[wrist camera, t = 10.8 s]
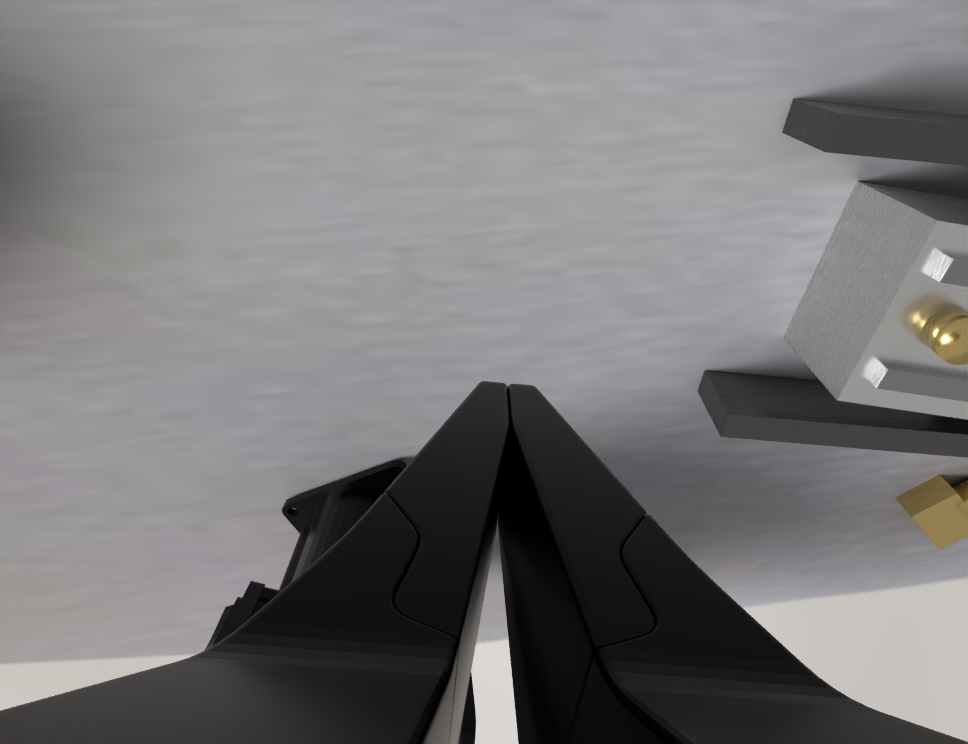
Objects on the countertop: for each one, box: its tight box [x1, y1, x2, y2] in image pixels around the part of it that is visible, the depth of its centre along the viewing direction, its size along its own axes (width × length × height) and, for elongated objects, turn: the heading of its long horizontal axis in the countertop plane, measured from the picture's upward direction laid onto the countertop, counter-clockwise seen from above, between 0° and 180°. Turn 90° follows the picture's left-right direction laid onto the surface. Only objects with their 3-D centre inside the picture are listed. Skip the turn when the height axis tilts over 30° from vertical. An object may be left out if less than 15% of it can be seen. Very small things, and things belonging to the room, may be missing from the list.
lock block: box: [783, 181, 968, 420], centre depth 20 cm, size 7×6×6 cm
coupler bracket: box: [698, 99, 968, 457], centre depth 21 cm, size 14×11×3 cm
